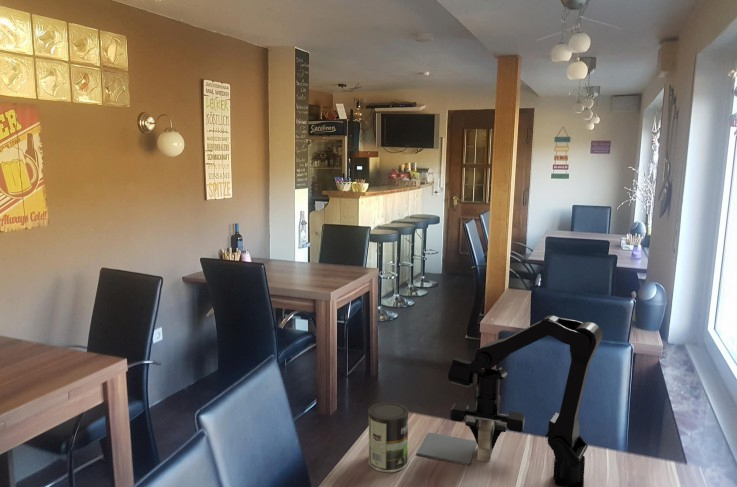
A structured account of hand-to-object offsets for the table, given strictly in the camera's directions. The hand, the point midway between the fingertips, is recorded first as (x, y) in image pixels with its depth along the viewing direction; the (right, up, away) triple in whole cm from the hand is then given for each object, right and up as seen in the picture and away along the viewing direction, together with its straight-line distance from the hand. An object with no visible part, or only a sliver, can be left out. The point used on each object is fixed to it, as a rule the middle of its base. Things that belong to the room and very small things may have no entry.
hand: (485, 447), depth 143 cm
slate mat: (-10, -2, +3) cm, 10 cm away
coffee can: (-26, -3, -3) cm, 27 cm away
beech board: (0, -2, 0) cm, 2 cm away
